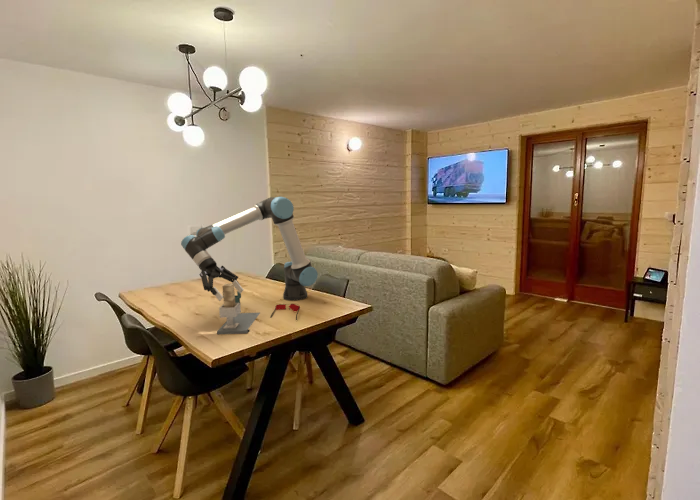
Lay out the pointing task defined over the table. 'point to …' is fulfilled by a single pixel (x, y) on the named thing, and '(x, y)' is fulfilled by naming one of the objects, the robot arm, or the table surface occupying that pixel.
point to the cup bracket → (230, 315)
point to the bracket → (237, 297)
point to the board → (244, 325)
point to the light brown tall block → (229, 295)
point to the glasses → (292, 306)
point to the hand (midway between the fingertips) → (232, 295)
